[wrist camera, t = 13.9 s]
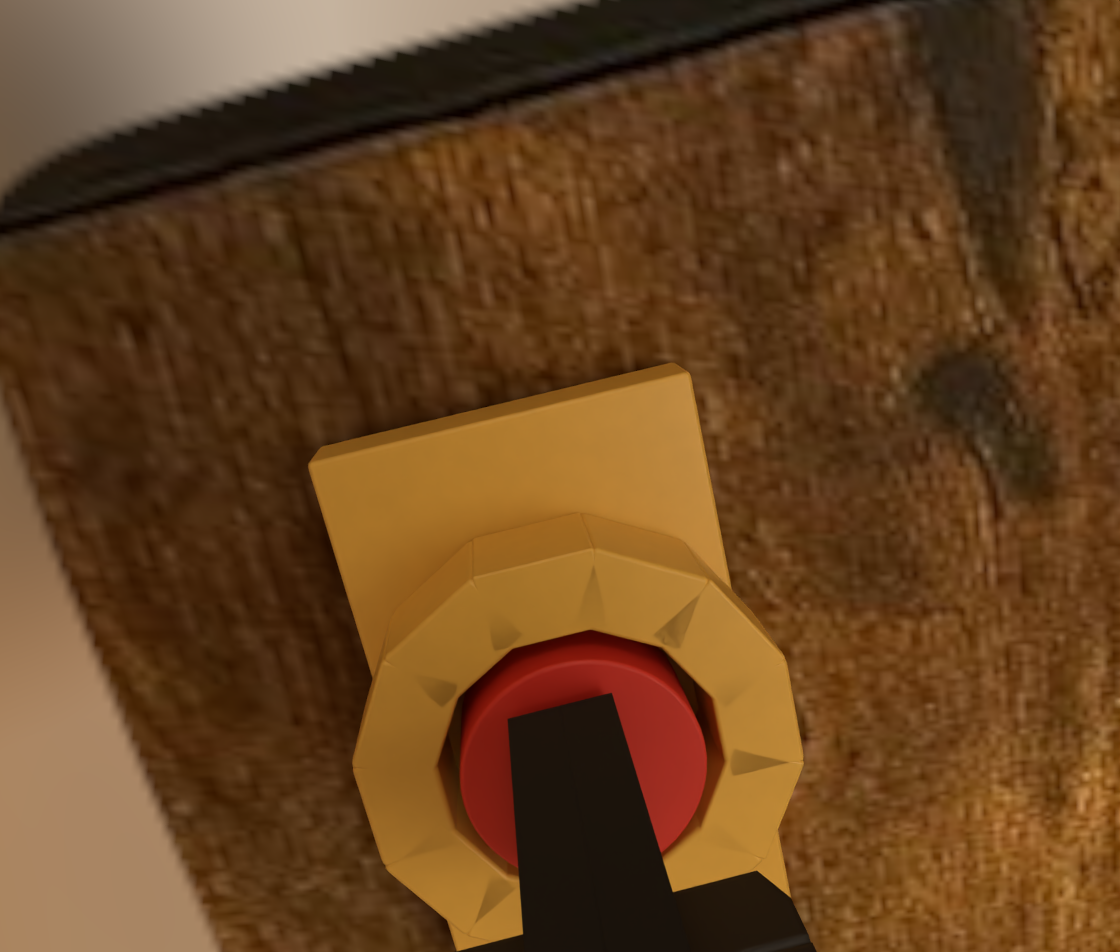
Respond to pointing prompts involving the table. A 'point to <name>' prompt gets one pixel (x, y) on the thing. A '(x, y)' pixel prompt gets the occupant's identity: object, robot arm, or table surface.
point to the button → (568, 676)
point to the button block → (548, 617)
